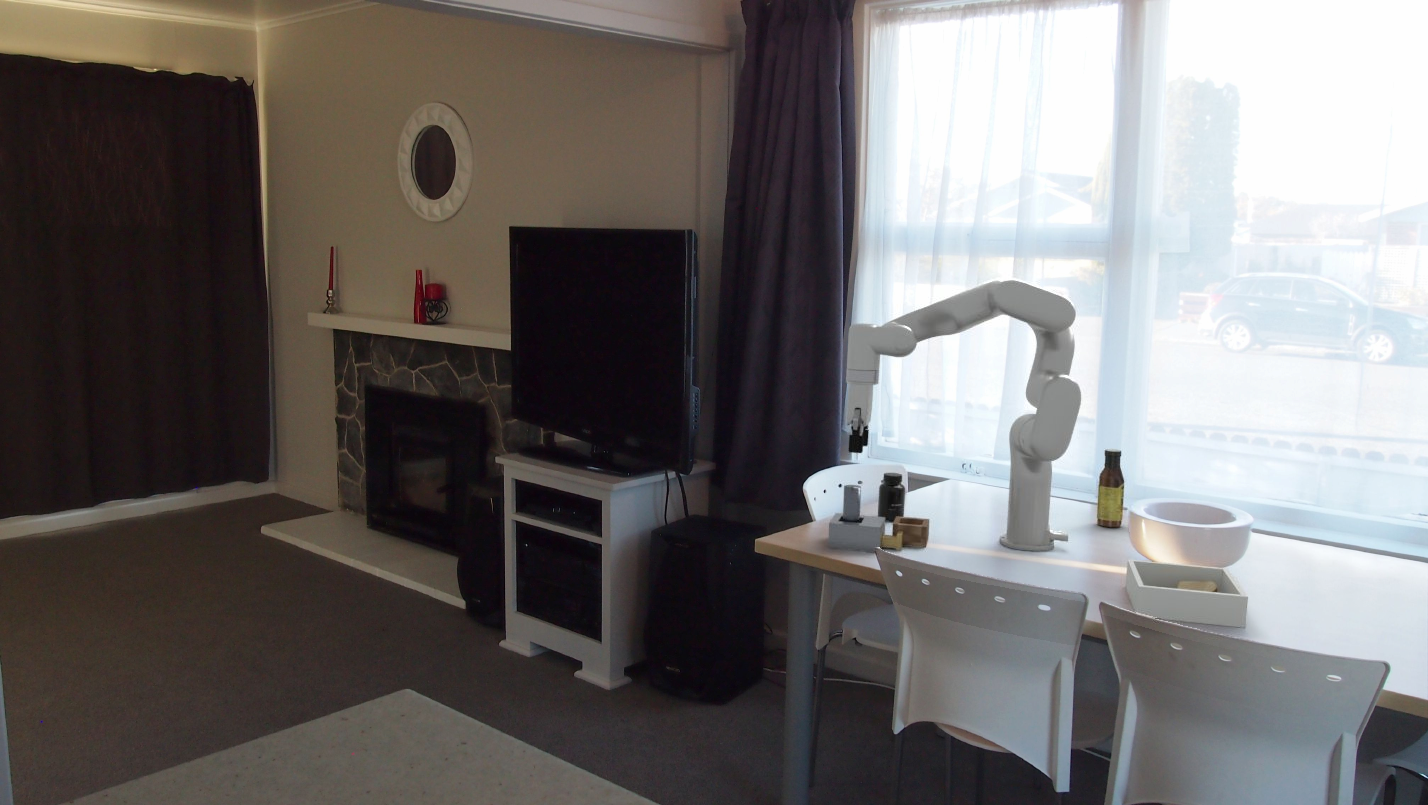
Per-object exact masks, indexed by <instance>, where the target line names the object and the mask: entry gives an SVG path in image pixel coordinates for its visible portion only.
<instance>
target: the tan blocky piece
mask: <svg viewBox="0 0 1428 805" xmlns="http://www.w3.org/2000/svg"><path fill="white" fill-rule="evenodd" d="M903 547H904V546H903V532H902V531H898V533H897V536H893V535H892V534H891V535H890V534H885V535H882V541H881V548H887V549H895V551H902V549H903Z"/></svg>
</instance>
